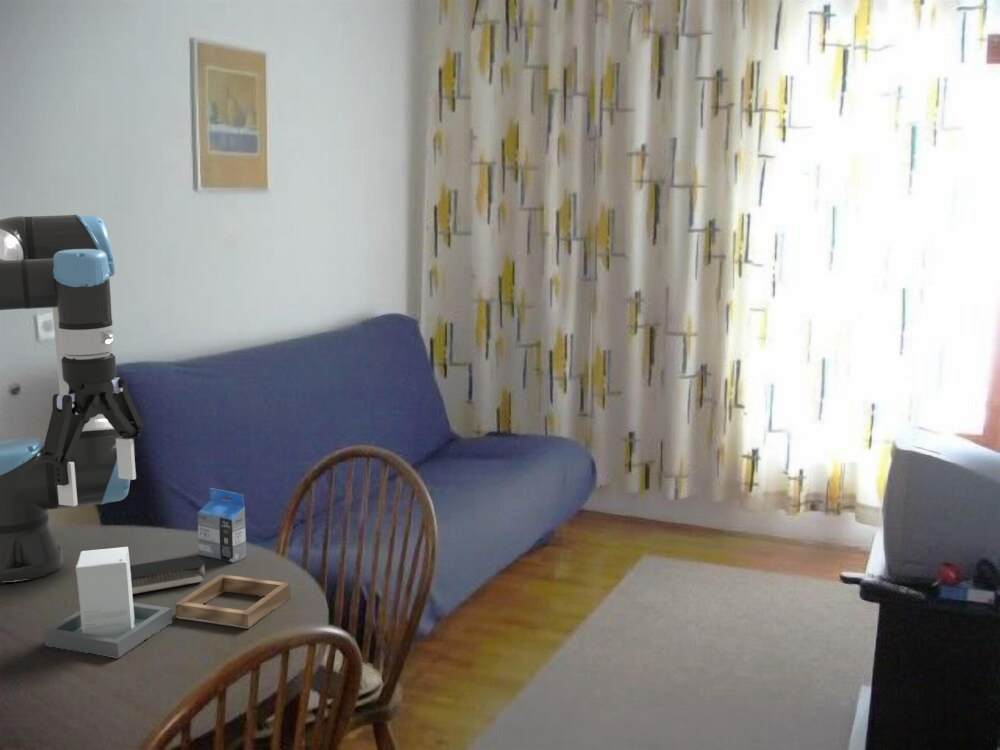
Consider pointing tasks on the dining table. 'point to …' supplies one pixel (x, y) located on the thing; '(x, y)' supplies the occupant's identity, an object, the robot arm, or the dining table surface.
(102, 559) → the supplement box
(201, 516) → the label tape box
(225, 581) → the wooden picture frame
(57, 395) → the robot arm
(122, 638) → the grey teal square tray
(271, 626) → the dining table surface
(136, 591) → the black scrub brush
